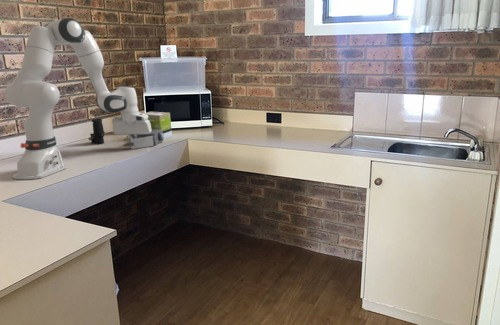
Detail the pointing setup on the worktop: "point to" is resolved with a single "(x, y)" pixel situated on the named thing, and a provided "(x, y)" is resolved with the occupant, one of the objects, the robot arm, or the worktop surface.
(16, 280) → the worktop surface
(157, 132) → the box
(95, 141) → the scope
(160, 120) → the tea box
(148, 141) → the side door
